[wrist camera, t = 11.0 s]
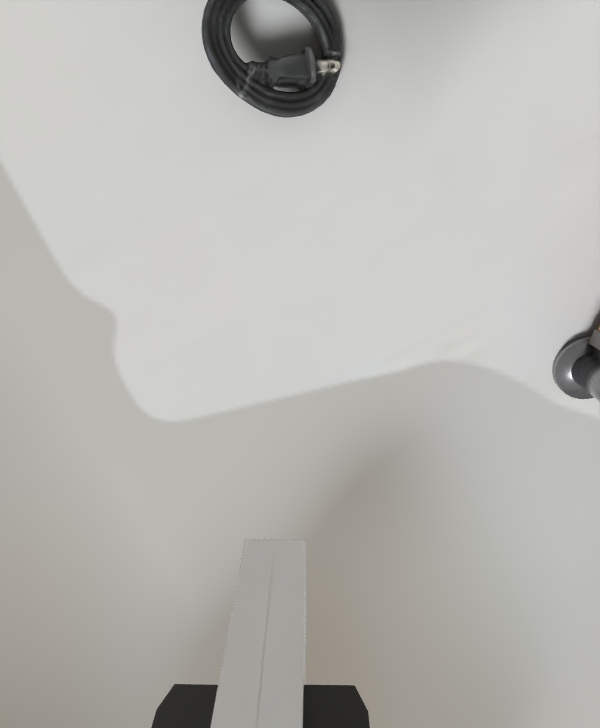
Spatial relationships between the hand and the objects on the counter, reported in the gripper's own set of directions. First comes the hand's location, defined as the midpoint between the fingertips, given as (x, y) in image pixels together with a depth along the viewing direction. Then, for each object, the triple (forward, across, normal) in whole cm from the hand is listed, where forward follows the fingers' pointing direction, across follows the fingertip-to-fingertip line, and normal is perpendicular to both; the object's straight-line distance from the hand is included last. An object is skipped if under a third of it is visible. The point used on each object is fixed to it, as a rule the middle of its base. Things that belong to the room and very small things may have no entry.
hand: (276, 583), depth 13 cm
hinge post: (+24, +20, -3) cm, 32 cm away
